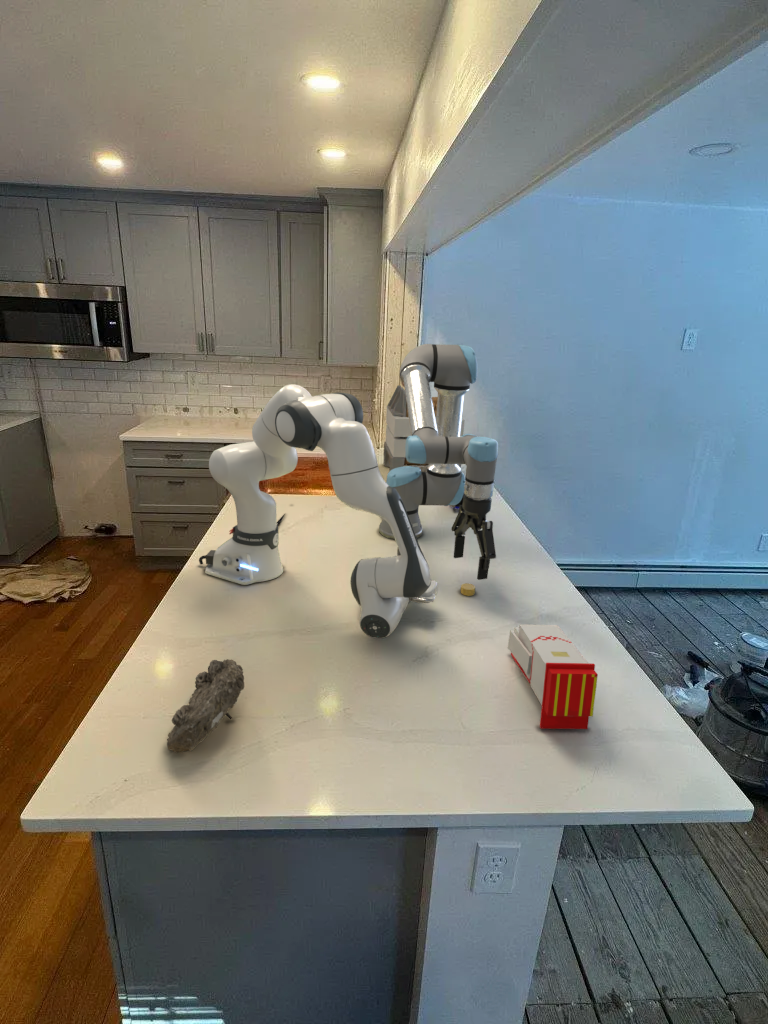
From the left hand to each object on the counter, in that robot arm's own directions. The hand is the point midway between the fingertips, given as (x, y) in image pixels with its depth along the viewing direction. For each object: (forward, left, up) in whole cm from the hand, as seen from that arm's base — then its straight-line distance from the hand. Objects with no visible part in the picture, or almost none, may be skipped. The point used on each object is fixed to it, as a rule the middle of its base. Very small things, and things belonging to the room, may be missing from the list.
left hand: (405, 573), depth 156 cm
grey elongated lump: (-23, -60, -7) cm, 65 cm away
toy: (+38, -30, -7) cm, 49 cm away
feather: (-56, +43, -7) cm, 71 cm away
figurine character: (+3, +79, -7) cm, 80 cm away
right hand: (+17, +8, +1) cm, 18 cm away
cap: (+17, +7, -5) cm, 19 cm away
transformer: (-22, +123, -7) cm, 125 cm away
